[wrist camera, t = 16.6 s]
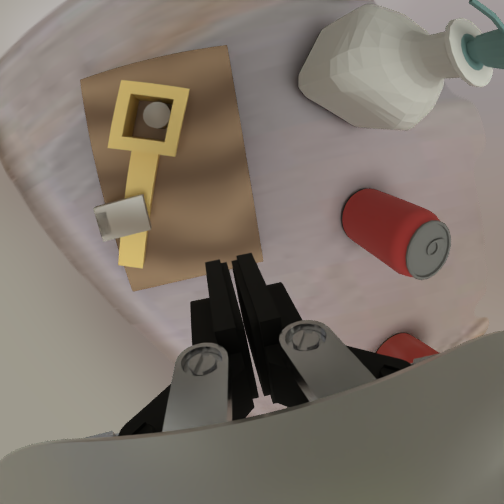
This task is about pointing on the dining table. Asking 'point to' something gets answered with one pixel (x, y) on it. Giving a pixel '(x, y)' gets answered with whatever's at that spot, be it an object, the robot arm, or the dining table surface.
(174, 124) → the link
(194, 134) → the bracket base
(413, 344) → the flower pot
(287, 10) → the dining table surface
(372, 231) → the beer can
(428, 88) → the soap bottle
